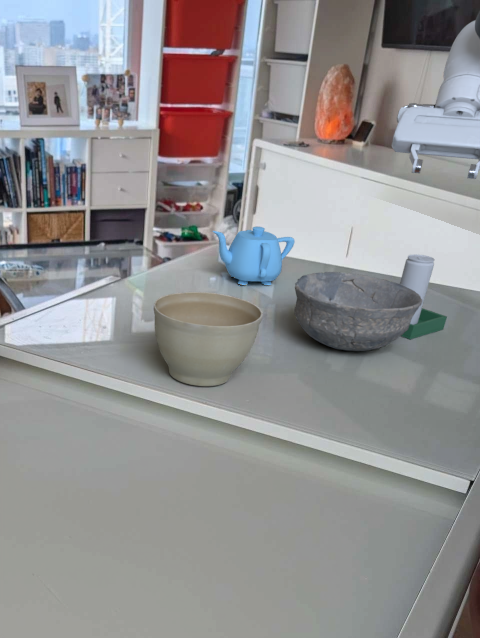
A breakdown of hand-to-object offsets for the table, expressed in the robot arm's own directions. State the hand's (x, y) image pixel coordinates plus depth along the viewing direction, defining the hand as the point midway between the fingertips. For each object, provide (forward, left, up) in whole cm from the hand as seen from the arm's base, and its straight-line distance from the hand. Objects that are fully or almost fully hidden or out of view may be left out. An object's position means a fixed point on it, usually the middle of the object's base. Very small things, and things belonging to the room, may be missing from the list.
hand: (443, 173), depth 135 cm
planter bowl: (+57, +2, -25) cm, 62 cm away
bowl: (+26, +6, -25) cm, 37 cm away
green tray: (+8, +5, -25) cm, 27 cm away
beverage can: (+8, +5, -25) cm, 26 cm away
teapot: (+14, -30, -25) cm, 42 cm away
